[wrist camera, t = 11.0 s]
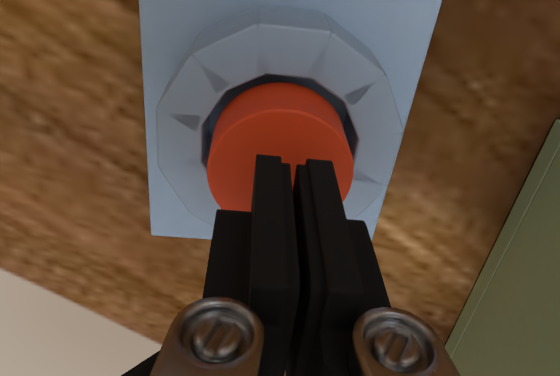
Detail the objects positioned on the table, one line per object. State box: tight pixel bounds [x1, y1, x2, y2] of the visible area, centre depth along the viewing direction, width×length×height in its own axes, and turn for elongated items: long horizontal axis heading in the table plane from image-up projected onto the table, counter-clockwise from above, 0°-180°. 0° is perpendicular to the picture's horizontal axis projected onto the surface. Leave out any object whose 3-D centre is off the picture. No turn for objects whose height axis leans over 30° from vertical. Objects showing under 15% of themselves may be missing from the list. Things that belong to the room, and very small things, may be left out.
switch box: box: [139, 0, 442, 241], centre depth 14 cm, size 10×8×4 cm
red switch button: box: [207, 82, 354, 212], centre depth 12 cm, size 4×4×2 cm
